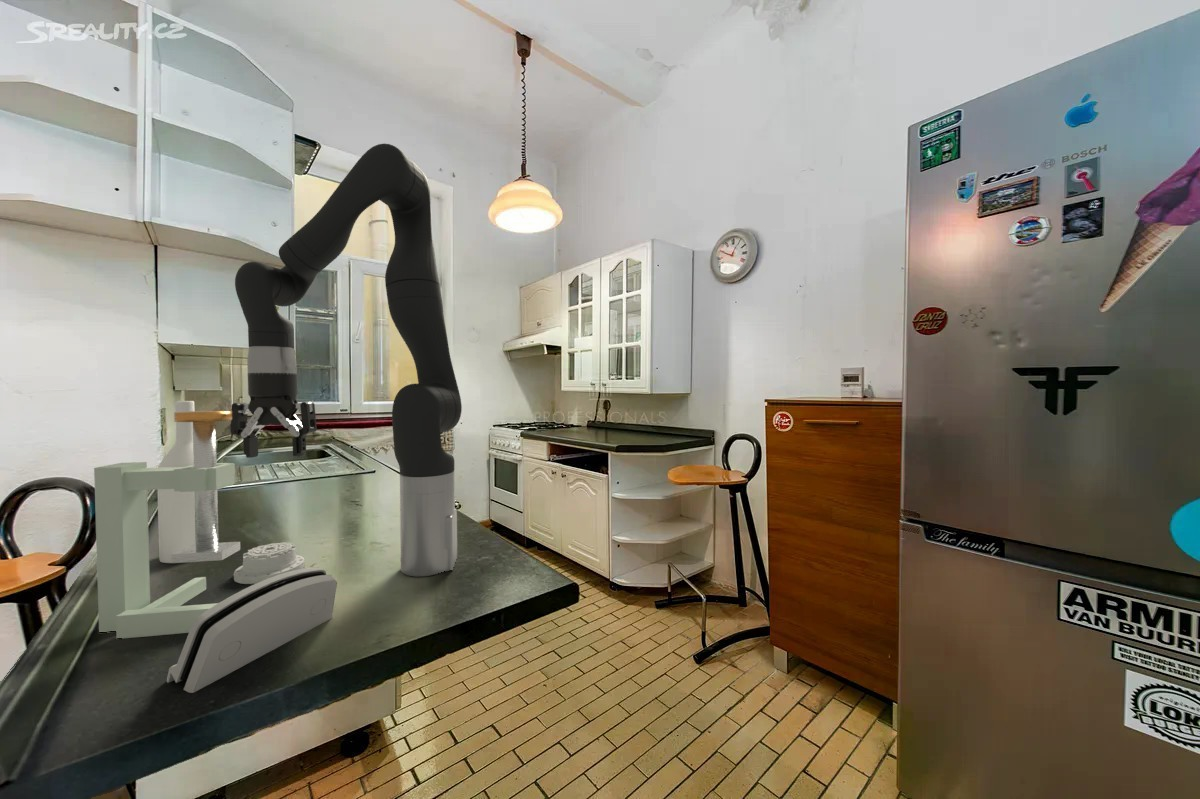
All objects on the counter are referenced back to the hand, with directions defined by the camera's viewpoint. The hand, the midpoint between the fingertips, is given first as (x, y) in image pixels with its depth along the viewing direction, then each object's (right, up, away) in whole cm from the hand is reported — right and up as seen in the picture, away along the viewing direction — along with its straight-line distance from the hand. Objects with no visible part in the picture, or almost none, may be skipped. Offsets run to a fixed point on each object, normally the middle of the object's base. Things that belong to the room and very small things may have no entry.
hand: (275, 456), depth 84 cm
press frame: (+5, -20, -19) cm, 28 cm away
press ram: (+7, -11, -22) cm, 26 cm away
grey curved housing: (+20, -21, -29) cm, 41 cm away
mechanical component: (+4, -20, -6) cm, 21 cm away
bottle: (-18, -20, +1) cm, 26 cm away
